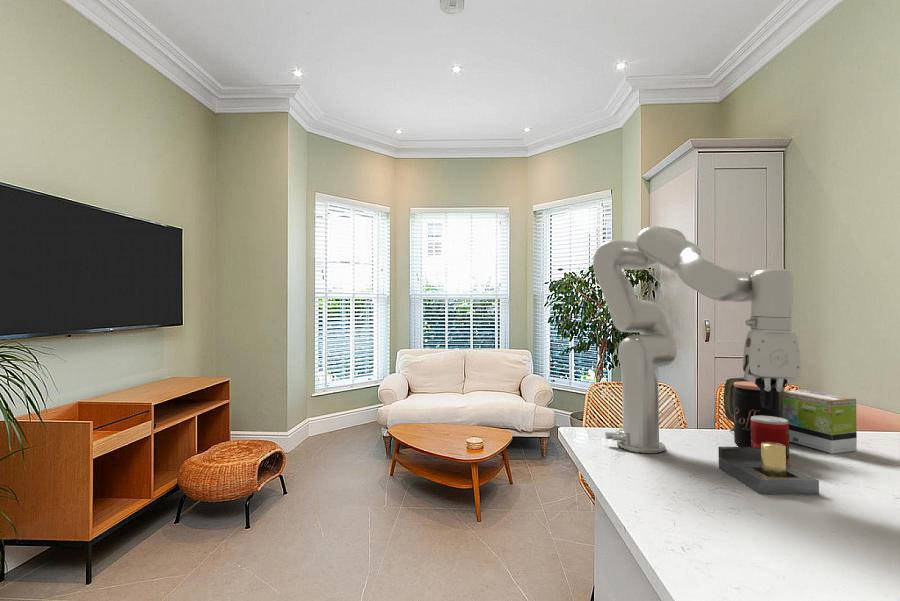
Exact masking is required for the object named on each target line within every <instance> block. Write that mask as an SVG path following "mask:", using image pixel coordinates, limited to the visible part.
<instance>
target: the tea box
mask: <svg viewBox="0 0 900 601" xmlns="http://www.w3.org/2000/svg"><path fill="white" fill-rule="evenodd" d="M782 402H783V411H782V418H783V419H786V420H788V423H789V443H790V442H791V443H795V444H798V445H802V446H804V447H808V448H812V449H815V450H817V451H821V452H824V453H828V454H830V455H833V454H842V453H843V454H844V453H850V452H855V451H857V443H858V441H857V438H858V437H857V433H858V431H857V429H858V428H857V426H858V425H857V398H855V397H847V396H844V395H843V396H841V395H835V394H831V393H826V392H825V393H824V392H818V391H813V390H812V391H811V390H809V389H808V390H806V389H795V390H794V389H793V390H784V391H782Z"/></svg>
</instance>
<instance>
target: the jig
mask: <svg viewBox="0 0 900 601" xmlns="http://www.w3.org/2000/svg"><path fill="white" fill-rule="evenodd" d="M717 449H718V470H719V471H722V472H723V473H724V472H725V473H724V474H726V475H728V476H729V477H732V478H733V479H735V480H736V481H737V482H739V483H741V484H743V485H744V486H746V487H748V488H749V489H751V490H752V491H754V492H756V493H757V494H759V495H784V496H786V495H787V496H789V495H791V496H793V495H794V496H795V495H796V496H797V495H798V496H820V480H819V479H817V478H814V477H813V476H810V475H808V474H807V473H804V472H802V471H800V470H798V469H796V468H793V467H791V466H789V465H786V477H767V476H766V475H764V474H762V463H761V447H737V446H718V448H717Z"/></svg>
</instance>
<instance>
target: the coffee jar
mask: <svg viewBox="0 0 900 601" xmlns="http://www.w3.org/2000/svg"><path fill="white" fill-rule="evenodd" d="M734 386H735V388H736V390H735V391H734V422H733V428H734V433H733V435H734V438H733V439H734V441H733V442H734V444H735V445H736V447H737V446H738V447H751V417H752V416H773V417H779V404H778V409H777V410H773V409H772V410H769V409H766V408H763V407H761V403H760V389H759V388H758V386H757V385H756V384H755V383H754V382H747V381H741V382H734Z"/></svg>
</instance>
